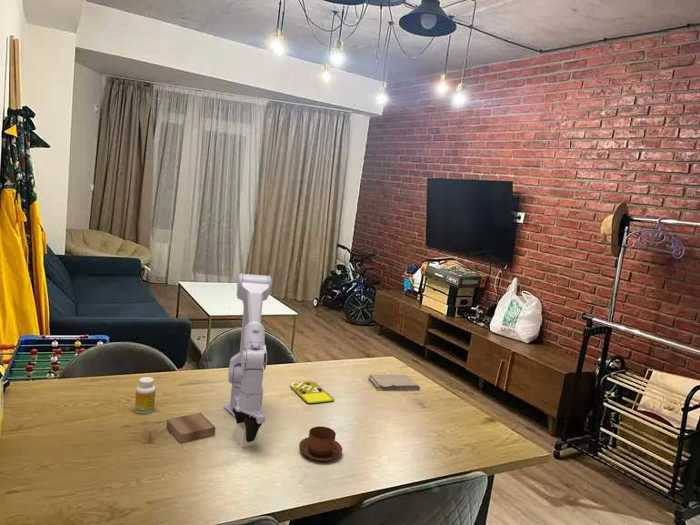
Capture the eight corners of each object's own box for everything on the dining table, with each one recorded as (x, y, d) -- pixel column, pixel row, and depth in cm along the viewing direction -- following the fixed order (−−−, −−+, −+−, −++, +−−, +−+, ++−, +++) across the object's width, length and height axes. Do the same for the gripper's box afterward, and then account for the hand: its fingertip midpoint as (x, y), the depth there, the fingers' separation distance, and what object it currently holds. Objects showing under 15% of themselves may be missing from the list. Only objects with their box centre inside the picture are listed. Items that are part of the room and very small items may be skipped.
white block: (248, 437, 147) (250, 420, 147) (256, 444, 144) (258, 427, 143) (234, 440, 145) (236, 423, 144) (242, 447, 141) (243, 430, 141)
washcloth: (365, 380, 204) (366, 372, 204) (406, 379, 210) (408, 372, 210) (377, 392, 193) (378, 384, 193) (419, 391, 199) (421, 384, 199)
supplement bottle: (147, 415, 152) (149, 384, 151) (130, 411, 153) (133, 380, 152) (157, 408, 158) (159, 378, 156) (141, 404, 159) (143, 374, 157)
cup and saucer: (347, 449, 148) (350, 429, 147) (332, 469, 136) (334, 447, 136) (309, 438, 151) (311, 418, 151) (291, 456, 140) (293, 435, 139)
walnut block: (199, 422, 153) (200, 412, 153) (214, 437, 146) (215, 427, 145) (166, 429, 147) (167, 419, 147) (179, 445, 139) (180, 434, 139)
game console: (336, 403, 179) (336, 399, 179) (307, 406, 173) (308, 402, 173) (312, 383, 194) (313, 379, 194) (285, 386, 189) (286, 382, 188)
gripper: (225, 383, 145) (221, 428, 147) (250, 403, 134) (245, 452, 136) (248, 379, 150) (243, 423, 152) (274, 399, 139) (268, 446, 141)
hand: (246, 436), depth 144 cm, fingers closed on white block, 4 cm apart
